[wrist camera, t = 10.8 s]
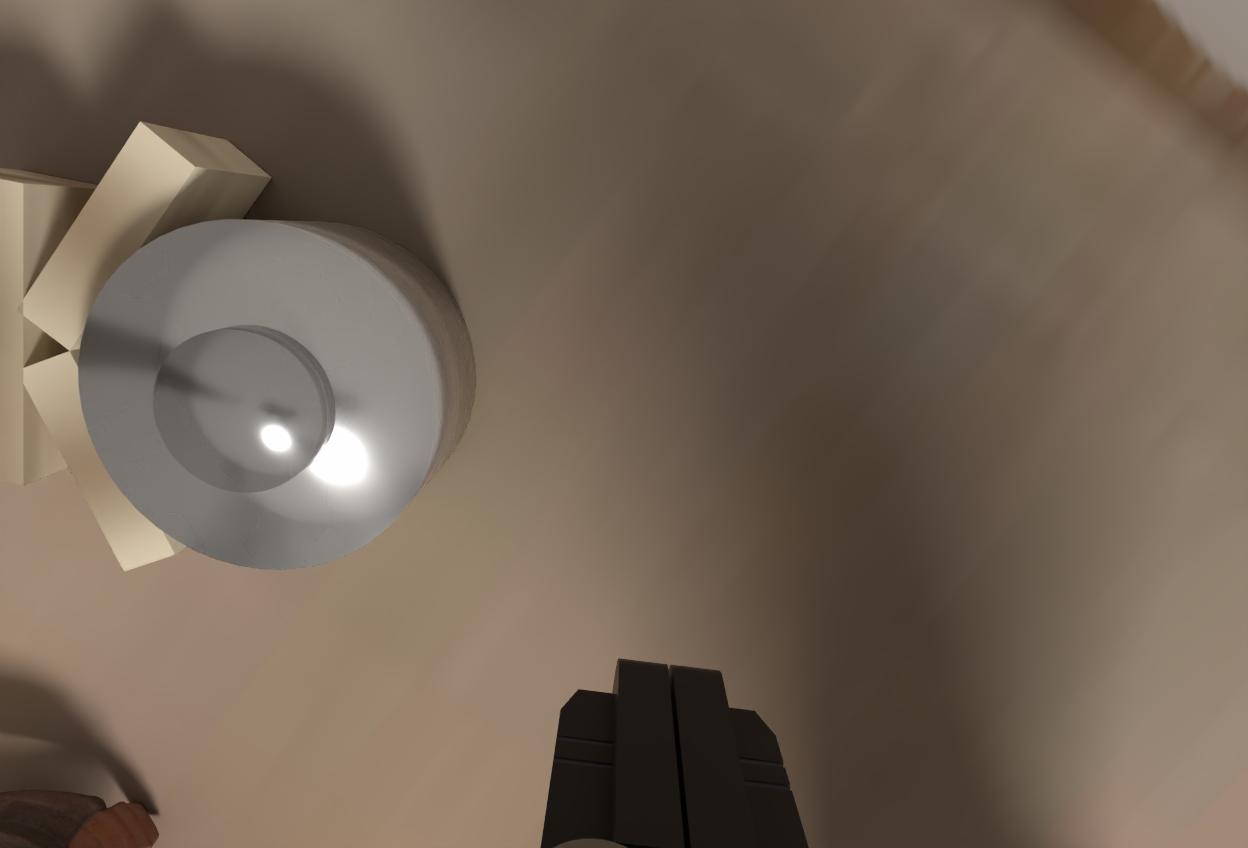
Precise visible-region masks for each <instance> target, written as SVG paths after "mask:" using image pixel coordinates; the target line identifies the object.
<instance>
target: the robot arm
mask: <svg viewBox="0 0 1248 848" xmlns="http://www.w3.org/2000/svg"><path fill="white" fill-rule="evenodd" d="M541 848H809V847H808V844H807V841H806V837H805V834H804V830H803V827H802V824H801V820H800V817H799V813H798V810H797V807H796V803H795V800H794V796H793V793H792V791H790V783H789V779H788V776H787V773H786V769H785V768H783V759H782V756H781V752H780V749H779V745H778V742H777V739H776V735H775V734H774V733H773V732H772V731H771V730H770V728H769V727H768V726H767V725H766V724H765V723H764V721H763V720H762V719H761V718H760V717H759V716H758V714H757V713H756V712H755V711H751V710H743V709H735V708H729V706H728V701H727V697H726V692H725V687H724V682H723V678H722V674H721V672H720V671H717V670H709V669H701V668H693V667H685V666H677V665H670V667H669V670H668V665H667V664H659V663H651V662H643V661H635V660H627V659H619V658H618V661H617V666H616V672H615V678H614V685H613V692H612V693H604V692H596V691H588V690H580V689H578V690H577V692H576V693H575V694H574V695H573V696H572V697H571V698H570V700H569V701H568V702H567V703H566V704H565V705H564V706H563V707H562V709H561V711H560V718H559V725H558V732H557V739H556V746H555V753H554V760H553V766H552V773H551V780H550V787H549V794H548V801H547V808H546V815H545V822H544V829H543V836H542V843H541Z"/></svg>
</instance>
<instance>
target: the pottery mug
mask: <svg viewBox="0 0 1248 848" xmlns="http://www.w3.org/2000/svg"><path fill="white" fill-rule="evenodd" d="M158 836H159V833H158V830H157V828H156V826H155V824H154V823H153V821H152V819H151V818H150V816H149V814H148V813H147V811H146V810H145V809H144V807H143V806H142V805H141V804H140V803H125V802H119V803H117V804H115V805H113V806H112V807H109V808H106V804H105V802H104V800H102V799H101V798H99V797H96V796H87V795H82V794H76V793H68V792H54V791H41V790H29V791H27V790H20V791H12V792H3V793H0V848H152V846H153V844H154V843H155V842H156V840H157V839H158Z"/></svg>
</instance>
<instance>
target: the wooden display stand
mask: <svg viewBox="0 0 1248 848" xmlns="http://www.w3.org/2000/svg"><path fill="white" fill-rule="evenodd" d="M271 178H272V177H271V176H269V175H268V174H267V173H266V172H265V171H263V170H262V169H261V168H260V167H259V166H257V165H256V164H255V163H254V162H253V161H251V160H250V159H249V158H248V157H247V156H245V155H244V154H243V153H242V152H241V151H239V150H238V149H237V148H236V147H235V146H234V145H232V144H231V143H230V142H229V141H228V140H225V139H220V138H216V137H211V136H206V135H202V134H197V133H192V132H188V131H183V130H178V129H173V128H169V127H164V126H159V125H155V124H150V123H145V122H141V121H140V122H139V124H138V125H137V127H136V128H135V130H134V131H133V133H132V134H131V136H130V137H129V139H128V140H127V142H126V144H125V145H124V147H123V148H122V150H121V151H120V153H119V154H118V156H117V157H116V159H115V160H114V162H113V163H112V165H111V166H110V168H109V169H108V171H107V172H106V174H105V176H104V177H103V179H102V180H101V182H100V183H99V185H95V184H89V183H84V182H79V181H74V180H69V179H64V178H59V177H54V176H49V175H44V174H39V173H34V172H29V171H24V170H17V169H6V168H0V481H1V482H6V483H12V484H17V485H22V486H24V485H26V484H29V483H31V482H34V481H36V480H38V479H41V478H43V477H46V476H48V475H50V474H53V473H55V472H58V471H60V470H63V469H65V468H67V467H68V468H69V470H70V471H71V473H72V475H73V477H74V479H75V481H76V483H77V484H78V486H79V488H80V490H81V492H82V494H83V496H84V498H85V499H86V501H87V503H88V505H89V507H90V509H91V511H92V512H93V514H94V516H95V518H96V520H97V522H98V524H99V525H100V527H101V529H102V531H103V533H104V535H105V537H106V538H107V540H108V542H109V544H110V546H111V548H112V550H113V552H114V553H115V555H116V557H117V559H118V561H119V563H120V565H121V566H122V568H123V570H124V571H127V570H130V569H133V568H136V567H139V566H142V565H145V564H148V563H151V562H154V561H157V560H160V559H163V558H166V557H169V556H172V555H175V554H177V553H178V552H179V551H181V550H182V549H184V548H185V547H187V546H186V545H184V544H182V543H180V542H178V541H176V540H175V539H173V538H172V537H170V536H169V535H168V534H166V533H165V532H163V531H162V530H160V529H159V528H157V527H156V526H155V525H154V524H153V523H152V522H150V521H149V520H148V519H147V518H146V517H145V516H143V515H142V514H141V513H140V512H139V511H138V510H137V509H136V508H135V507H134V506H133V505H132V503H131V502H130V501H129V500H128V499H127V498H126V497H125V496H124V495H123V494H122V492H121V491H120V489H119V488H118V487H117V485H116V484H115V483H114V481H113V480H112V479H111V477H110V476H109V474H108V472H107V471H106V469H105V467H104V465H103V464H102V462H101V460H100V458H99V457H98V455H97V452H96V450H95V448H94V445H93V443H92V441H91V438H90V436H89V433H88V430H87V427H86V423H85V420H84V416H83V413H82V407H81V401H80V394H79V386H78V362H79V353H80V344H81V340H82V336H83V332H84V328H85V324H86V321H87V318H88V316H89V314H90V311H91V309H92V307H93V304H94V302H95V300H96V298H97V297H98V295H99V293H100V292H101V290H102V289H103V287H104V285H105V284H106V282H107V281H108V280H109V278H110V277H111V276H112V275H113V274H114V272H115V271H116V270H117V269H118V268H119V267H120V265H121V264H122V263H124V262H125V261H126V260H127V259H128V258H129V257H130V256H132V255H133V254H134V253H135V252H136V251H137V250H139V249H140V248H142V247H143V246H145V245H147V244H148V243H150V242H151V241H153V240H155V239H156V238H158V237H160V236H162V235H165V234H167V233H169V232H172V231H174V230H176V229H178V228H182V227H185V226H189V225H193V224H197V223H200V222H206V221H215V220H223V219H243V217H244V216H245V214H246V213H247V212H248V210H249V209H250V207H251V206H252V205H253V203H254V202H255V200H256V199H257V198H258V196H259V195H260V193H261V192H262V191H263V189H264V188H265V186H266V185H267V184H268V182H269V181H270V179H271Z"/></svg>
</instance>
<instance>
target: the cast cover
mask: <svg viewBox="0 0 1248 848" xmlns="http://www.w3.org/2000/svg"><path fill="white" fill-rule="evenodd" d="M78 386H79V394H80V401H81V407H82V413H83V416H84V420H85V423H86V427H87V430H88V433H89V436H90V438H91V441H92V443H93V445H94V448H95V450H96V452H97V455H98V457H99V458H100V460H101V462H102V464H103V465H104V467H105V469H106V471H107V472H108V474H109V476H110V477H111V479H112V480H113V481H114V483H115V484H116V485H117V487H118V488H119V489H120V491H121V492H122V494H123V495H124V496H125V497H126V498H127V499H128V500H129V501H130V502H131V503H132V505H133V506H134V507H135V508H136V509H137V510H138V511H139V512H140V513H141V514H142V515H143V516H145V517H146V518H147V519H148V520H149V521H150V522H152V523H153V524H154V525H155V526H156V527H157V528H159V529H160V530H162V531H163V532H165V533H166V534H168V535H169V536H170V537H172V538H173V539H175V540H176V541H178V542H180V543H182V544H184V545H186V546H187V547H189V548H191V549H193V550H195V551H197V552H199V553H202V554H204V555H207V556H209V557H212V558H214V559H217V560H220V561H224V562H228V563H231V564H235V565H238V566H244V567H251V568H257V569H274V570H286V569H297V568H306V567H311V566H315V565H320V564H324V563H328V562H330V561H333V560H336V559H338V558H341V557H344V556H346V555H348V554H350V553H352V552H354V551H356V550H358V549H360V548H361V547H363V546H365V545H366V544H368V543H369V542H371V541H372V540H373V539H375V538H376V537H377V536H379V535H380V534H381V533H383V532H384V531H385V530H386V529H387V528H388V527H389V526H390V525H391V524H392V523H393V522H394V521H395V520H396V519H397V518H398V517H399V515H400V514H401V513H402V512H403V511H404V510H405V508H406V507H407V506H408V505H409V504H410V503H411V501H412V500H413V499H414V498H415V497H416V496H417V494H418V493H419V492H420V491H421V490H422V489H423V488H424V486H425V485H426V484H427V483H428V482H429V481H430V479H431V478H432V477H433V476H434V475H435V474H436V472H437V471H438V470H439V469H440V468H441V467H442V465H443V464H444V463H445V462H446V460H447V459H448V458H449V457H450V455H451V454H452V453H453V451H454V450H455V448H456V446H457V445H458V443H459V441H460V440H461V438H462V436H463V434H464V431H465V429H466V426H467V424H468V421H469V419H470V415H471V411H472V407H473V403H474V396H475V387H476V369H475V359H474V353H473V346H472V343H471V339H470V336H469V332H468V329H467V326H466V324H465V321H464V319H463V317H462V315H461V312H460V310H459V308H458V306H457V305H456V303H455V301H454V300H453V298H452V296H451V295H450V293H449V291H448V290H447V289H446V288H445V286H444V285H443V284H442V282H441V281H440V280H439V279H438V277H437V276H436V275H435V274H434V273H433V272H432V271H431V270H430V269H429V268H428V267H427V266H426V265H425V264H424V263H423V262H422V261H421V260H419V259H418V258H417V257H416V256H414V255H413V254H412V253H411V252H409V251H408V250H407V249H405V248H404V247H402V246H400V245H399V244H397V243H395V242H394V241H392V240H390V239H388V238H386V237H384V236H382V235H379V234H377V233H375V232H373V231H370V230H367V229H363V228H360V227H357V226H353V225H349V224H342V223H336V222H320V221H282V220H243V219H223V220H215V221H206V222H200V223H197V224H193V225H189V226H185V227H182V228H178V229H176V230H174V231H172V232H169V233H167V234H165V235H162V236H160V237H158V238H156V239H155V240H153V241H151V242H150V243H148V244H147V245H145V246H143V247H142V248H140V249H139V250H137V251H136V252H135V253H134V254H133V255H132V256H130V257H129V258H128V259H127V260H126V261H125V262H124V263H122V264H121V265H120V267H119V268H118V269H117V270H116V271H115V272H114V274H113V275H112V276H111V277H110V278H109V280H108V281H107V282H106V284H105V285H104V287H103V289H102V290H101V292H100V293H99V295H98V297H97V298H96V300H95V302H94V304H93V307H92V309H91V311H90V314H89V316H88V318H87V321H86V324H85V328H84V332H83V336H82V340H81V344H80V353H79V362H78Z"/></svg>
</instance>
